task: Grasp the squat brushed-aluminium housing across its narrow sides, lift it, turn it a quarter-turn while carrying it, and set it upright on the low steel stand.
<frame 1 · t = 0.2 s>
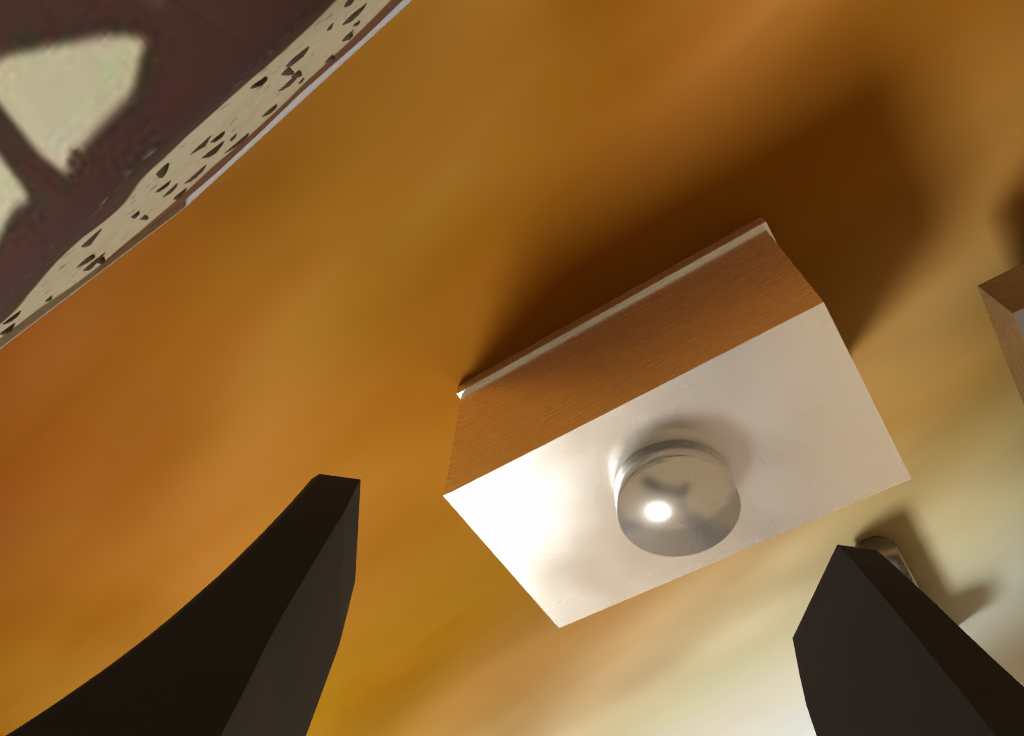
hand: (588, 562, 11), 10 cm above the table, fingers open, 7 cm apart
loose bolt: (890, 582, 24), on the table
housing: (645, 375, 21), on the table
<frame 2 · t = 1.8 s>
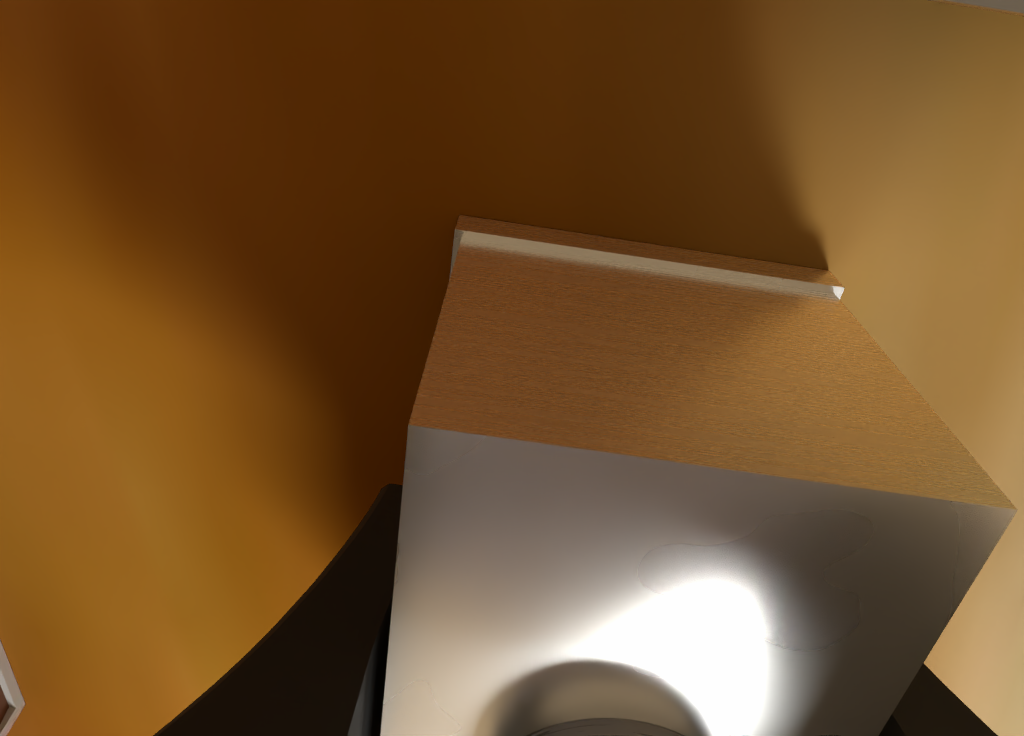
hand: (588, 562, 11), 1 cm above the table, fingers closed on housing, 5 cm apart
housing: (583, 500, 13), on the table, touching gripper
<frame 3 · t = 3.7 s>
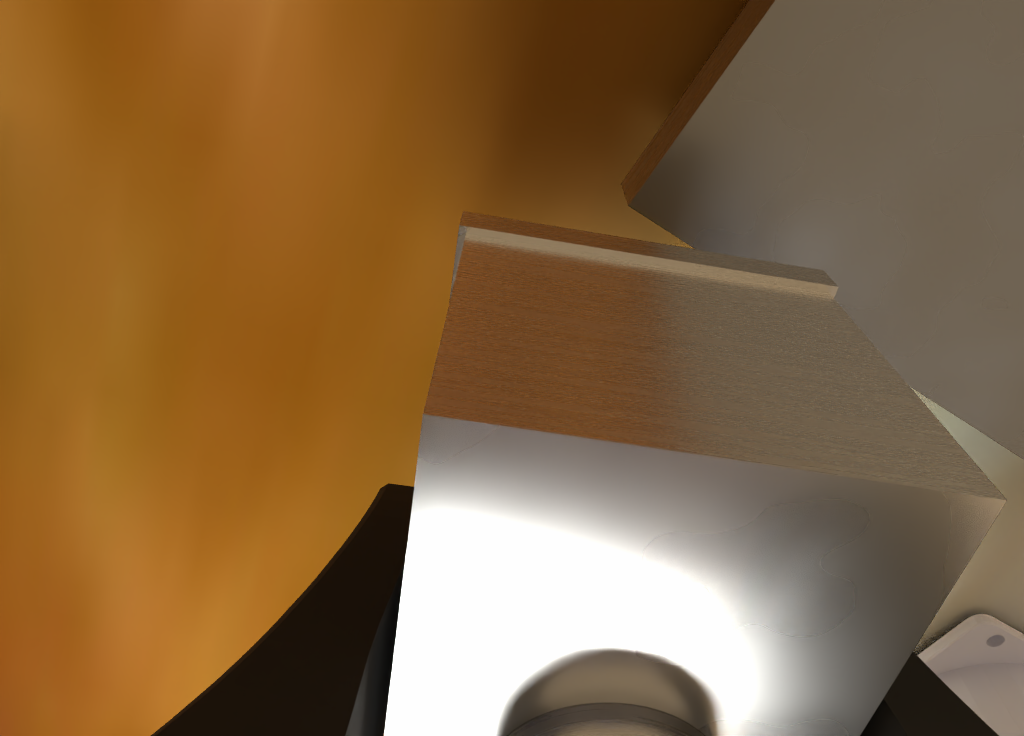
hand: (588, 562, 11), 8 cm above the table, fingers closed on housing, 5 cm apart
housing: (579, 494, 13), point 7 cm above the table, touching gripper
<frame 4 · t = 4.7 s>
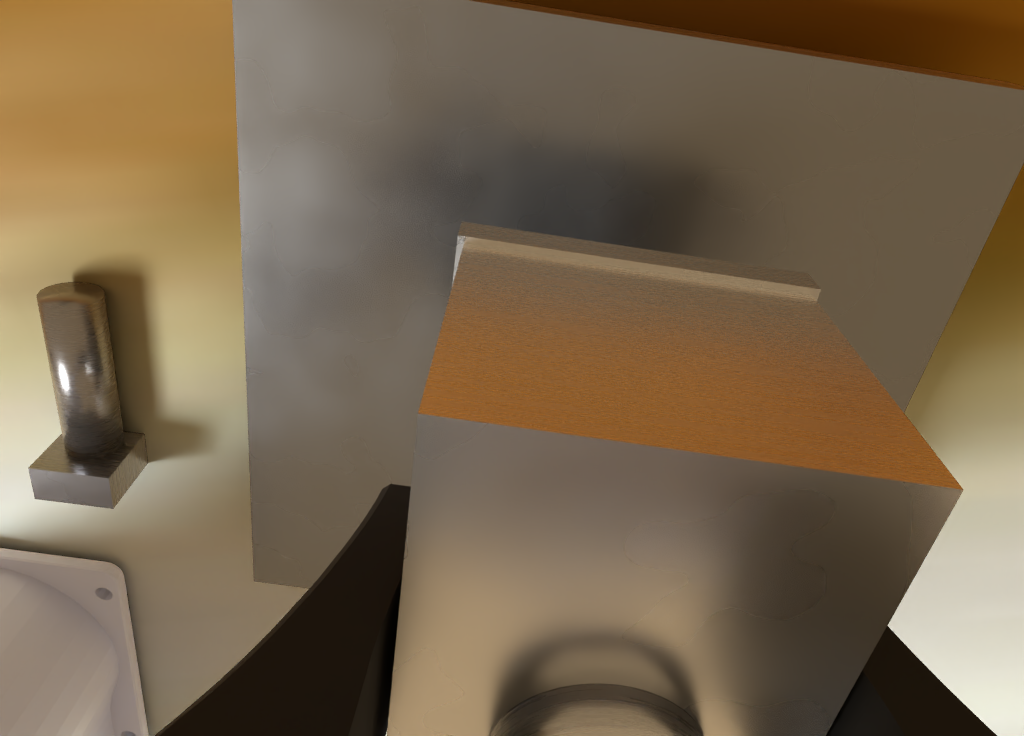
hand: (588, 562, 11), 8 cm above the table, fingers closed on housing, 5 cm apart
stand: (570, 324, 18), on the table
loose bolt: (97, 359, 20), on the table
housing: (578, 490, 13), point 6 cm above the table, touching gripper
when the fingers open (5 cm above the table, at t = 5.6 s): housing stays where it is, resting on stand.
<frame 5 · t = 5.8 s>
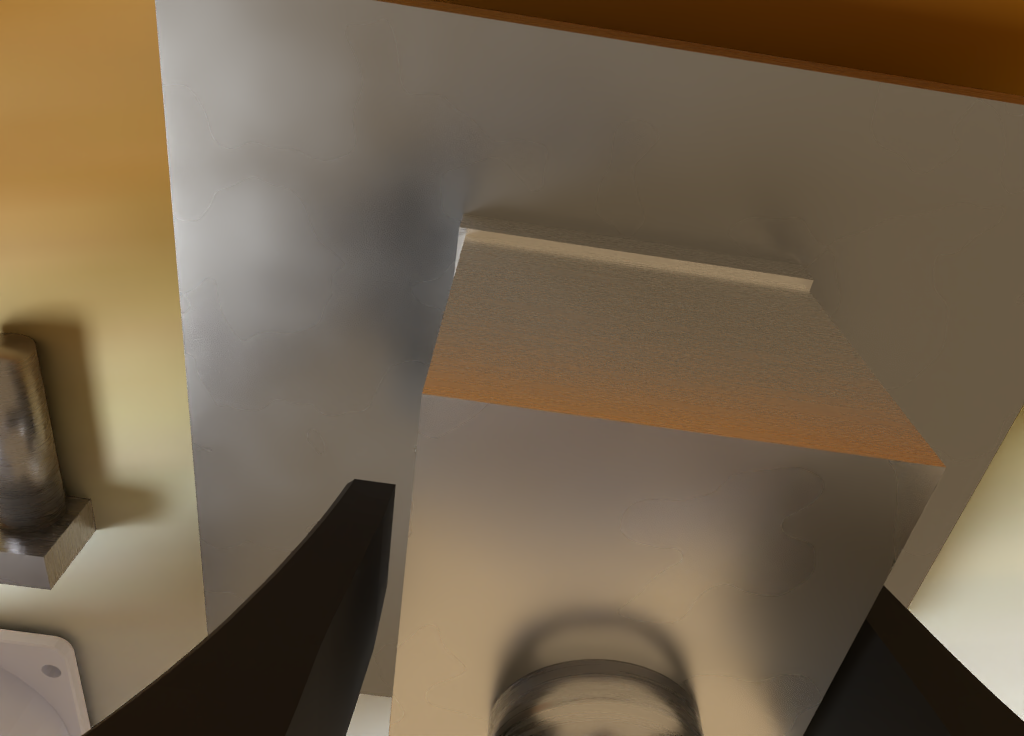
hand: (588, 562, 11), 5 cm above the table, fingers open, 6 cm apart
stand: (575, 382, 16), on the table
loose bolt: (33, 418, 17), on the table
housing: (577, 479, 14), point 3 cm above the table, touching stand
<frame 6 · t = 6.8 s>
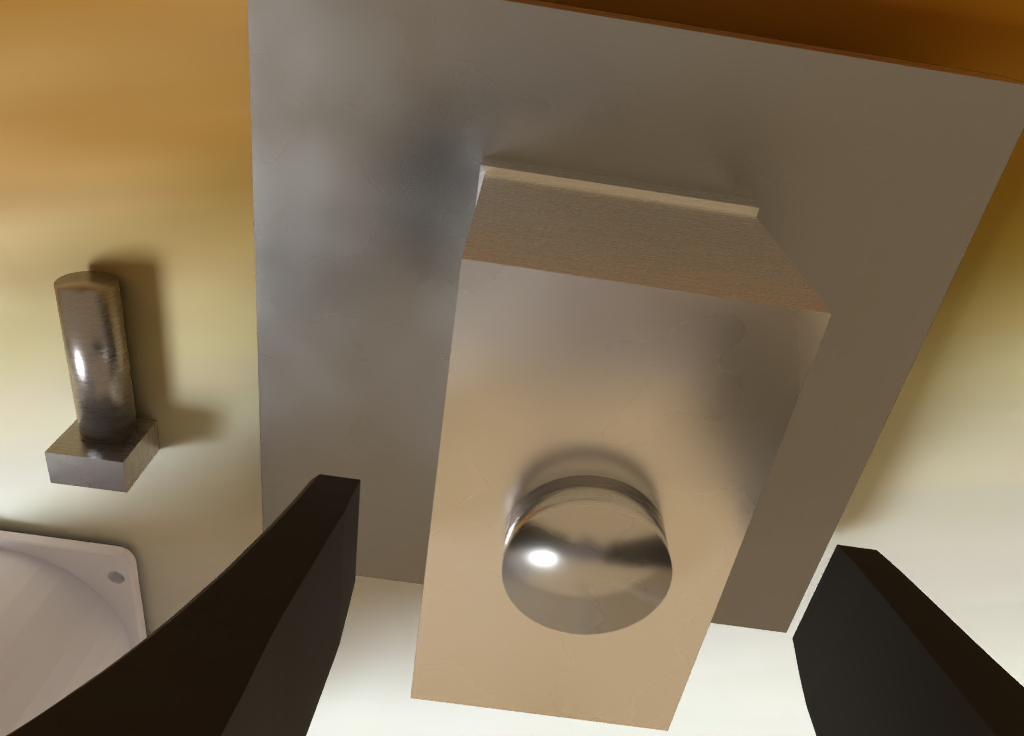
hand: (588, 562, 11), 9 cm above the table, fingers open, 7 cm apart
stand: (572, 313, 19), on the table
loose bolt: (111, 347, 20), on the table
housing: (574, 383, 16), point 3 cm above the table, touching stand
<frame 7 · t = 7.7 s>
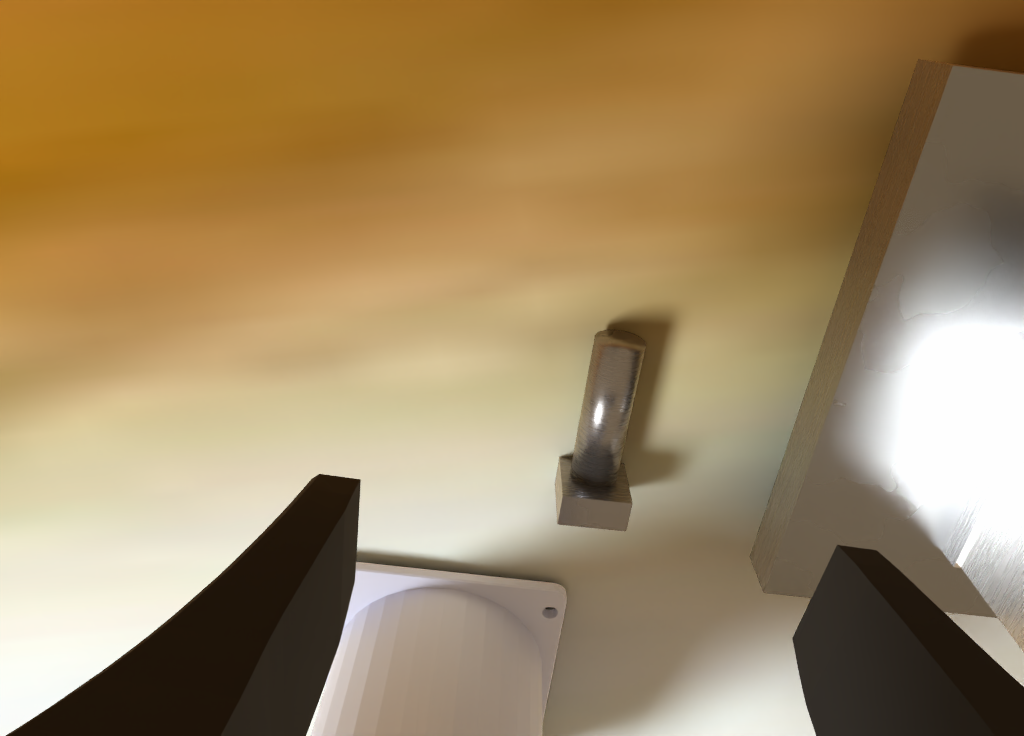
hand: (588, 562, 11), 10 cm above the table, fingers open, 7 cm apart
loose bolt: (604, 398, 22), on the table
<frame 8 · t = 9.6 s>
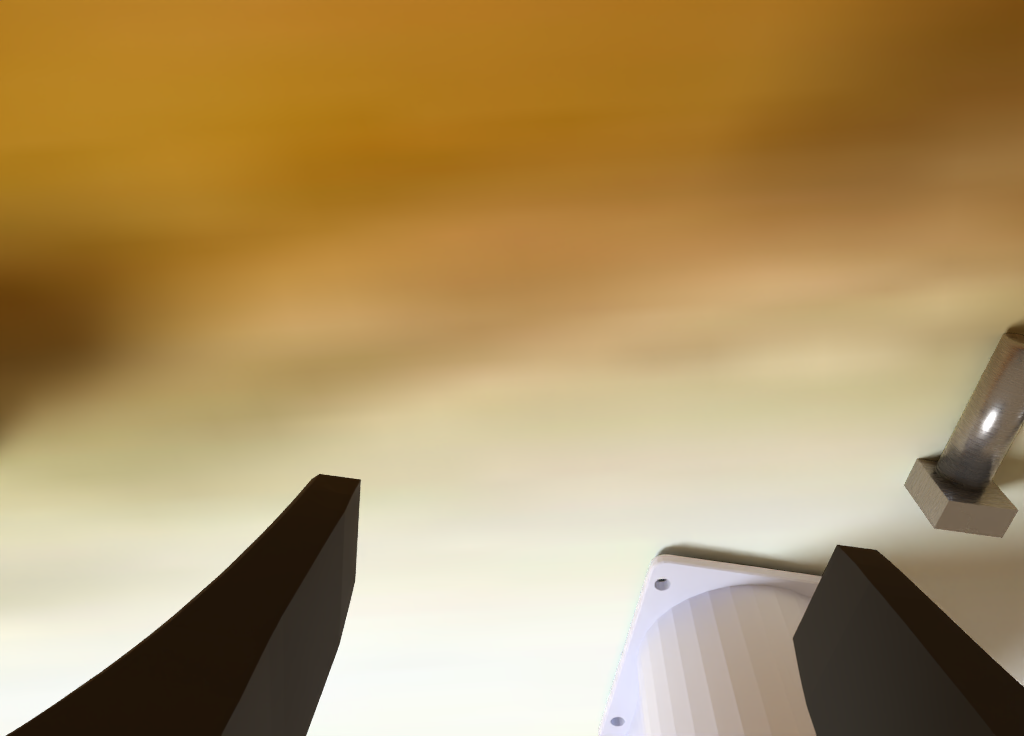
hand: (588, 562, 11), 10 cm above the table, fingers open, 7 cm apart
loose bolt: (981, 401, 21), on the table
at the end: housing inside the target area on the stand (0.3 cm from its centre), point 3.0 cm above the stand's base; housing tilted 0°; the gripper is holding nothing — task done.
